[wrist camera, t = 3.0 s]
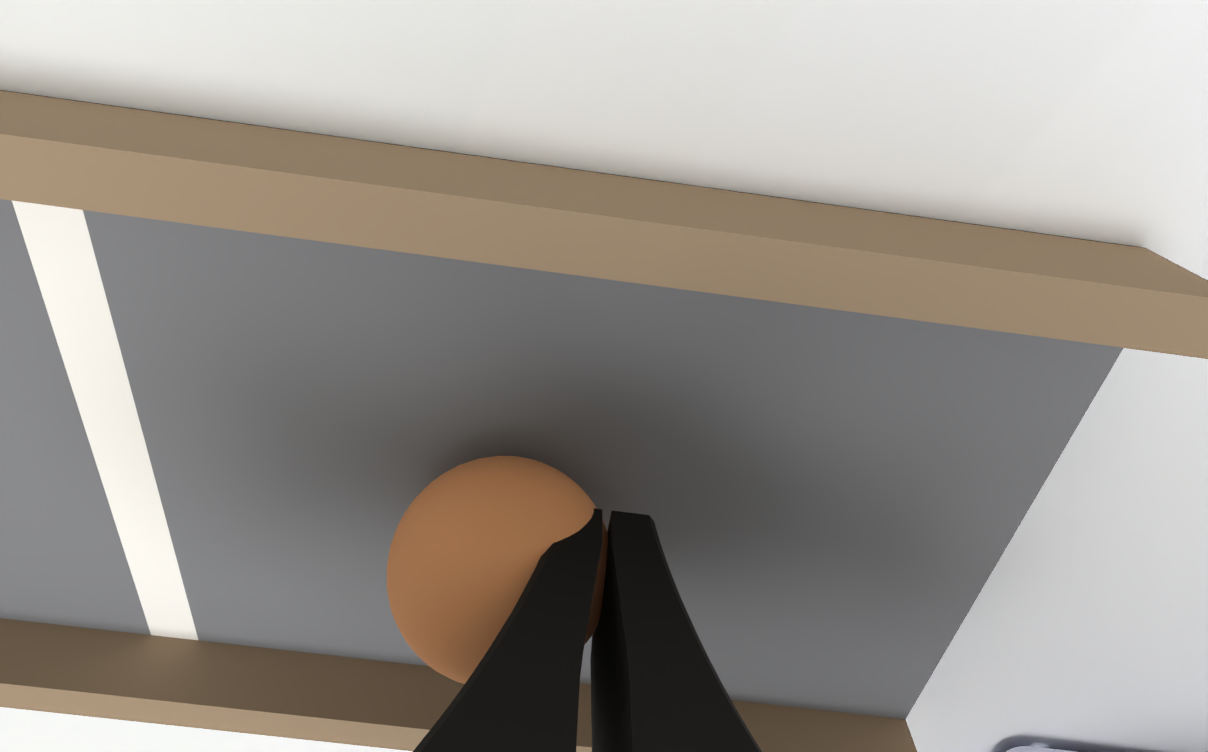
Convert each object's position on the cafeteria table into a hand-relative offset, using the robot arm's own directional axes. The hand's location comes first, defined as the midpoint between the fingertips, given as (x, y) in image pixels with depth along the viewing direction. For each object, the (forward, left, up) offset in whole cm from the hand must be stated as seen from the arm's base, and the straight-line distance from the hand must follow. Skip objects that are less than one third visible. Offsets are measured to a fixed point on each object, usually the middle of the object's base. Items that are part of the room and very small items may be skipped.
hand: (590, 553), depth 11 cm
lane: (+5, 0, -2) cm, 6 cm away
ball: (0, 0, -1) cm, 1 cm away
